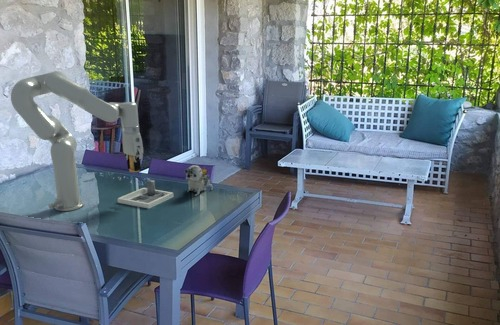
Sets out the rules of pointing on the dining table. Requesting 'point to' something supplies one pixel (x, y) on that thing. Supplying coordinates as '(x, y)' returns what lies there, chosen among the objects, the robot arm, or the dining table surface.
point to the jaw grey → (151, 188)
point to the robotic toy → (197, 179)
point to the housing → (145, 198)
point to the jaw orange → (132, 164)
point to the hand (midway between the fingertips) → (134, 168)
